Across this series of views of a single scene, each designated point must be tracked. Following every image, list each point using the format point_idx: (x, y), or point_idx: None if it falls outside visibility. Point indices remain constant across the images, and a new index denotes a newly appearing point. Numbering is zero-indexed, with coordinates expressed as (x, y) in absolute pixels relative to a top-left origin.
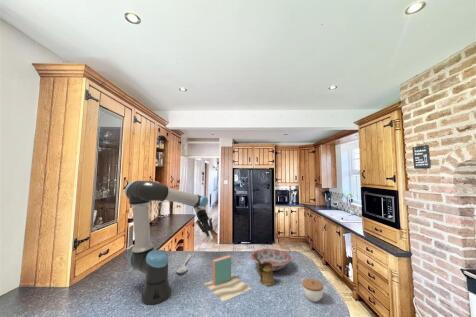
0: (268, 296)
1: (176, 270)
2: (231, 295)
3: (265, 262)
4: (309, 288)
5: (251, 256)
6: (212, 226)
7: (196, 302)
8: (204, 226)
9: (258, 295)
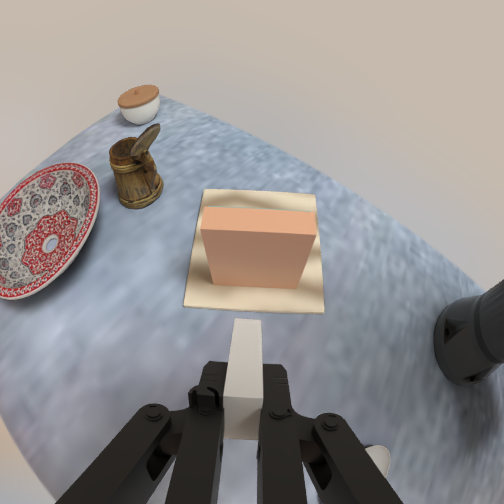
0: (197, 155)
1: None
2: (279, 199)
3: (114, 157)
4: (158, 90)
5: (60, 267)
6: (116, 439)
7: (377, 243)
8: (303, 501)
9: (212, 168)
